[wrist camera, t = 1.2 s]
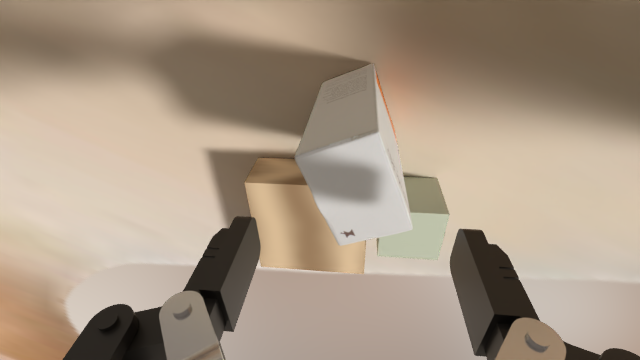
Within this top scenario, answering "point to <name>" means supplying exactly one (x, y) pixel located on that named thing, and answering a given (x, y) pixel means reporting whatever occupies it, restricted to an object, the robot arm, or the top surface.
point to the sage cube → (419, 223)
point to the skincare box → (354, 160)
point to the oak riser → (295, 222)
